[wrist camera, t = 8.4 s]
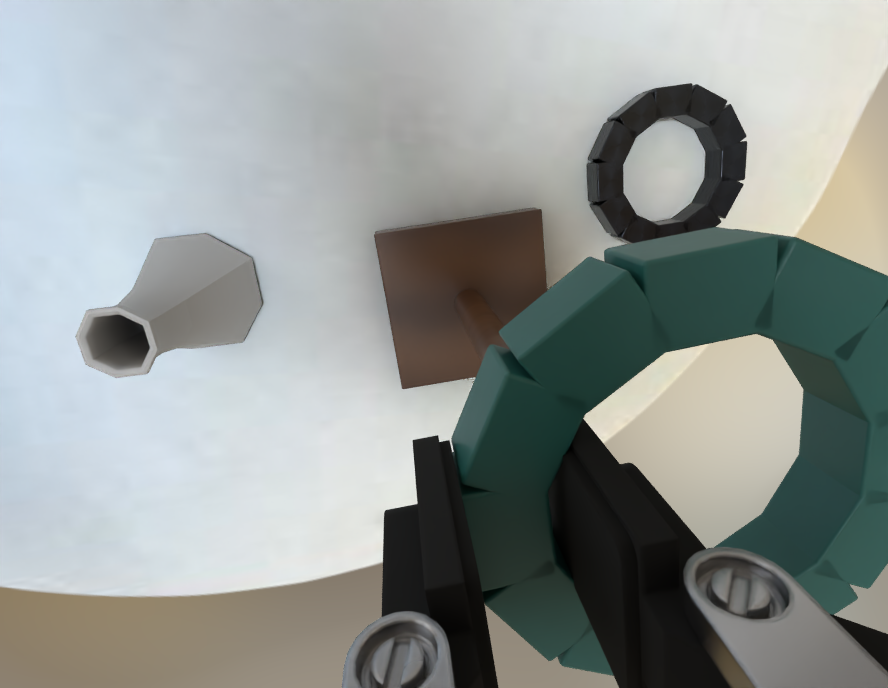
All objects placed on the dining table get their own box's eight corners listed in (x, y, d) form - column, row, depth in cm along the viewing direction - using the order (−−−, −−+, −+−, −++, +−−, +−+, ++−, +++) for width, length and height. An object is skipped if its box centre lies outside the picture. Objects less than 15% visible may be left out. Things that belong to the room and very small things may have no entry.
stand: (374, 231, 30) (362, 275, 17) (534, 207, 31) (648, 230, 17) (401, 380, 33) (409, 518, 20) (545, 356, 34) (648, 474, 20)
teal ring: (414, 285, 9) (419, 306, 7) (895, 190, 9) (993, 192, 8) (488, 652, 12) (502, 721, 10) (849, 571, 12) (914, 626, 11)
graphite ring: (584, 100, 29) (594, 96, 27) (733, 79, 29) (752, 74, 28) (589, 256, 32) (600, 260, 30) (725, 235, 32) (741, 237, 31)
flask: (269, 245, 30) (213, 277, 20) (257, 356, 32) (200, 432, 22) (141, 219, 28) (17, 239, 19) (136, 336, 31) (23, 407, 21)
